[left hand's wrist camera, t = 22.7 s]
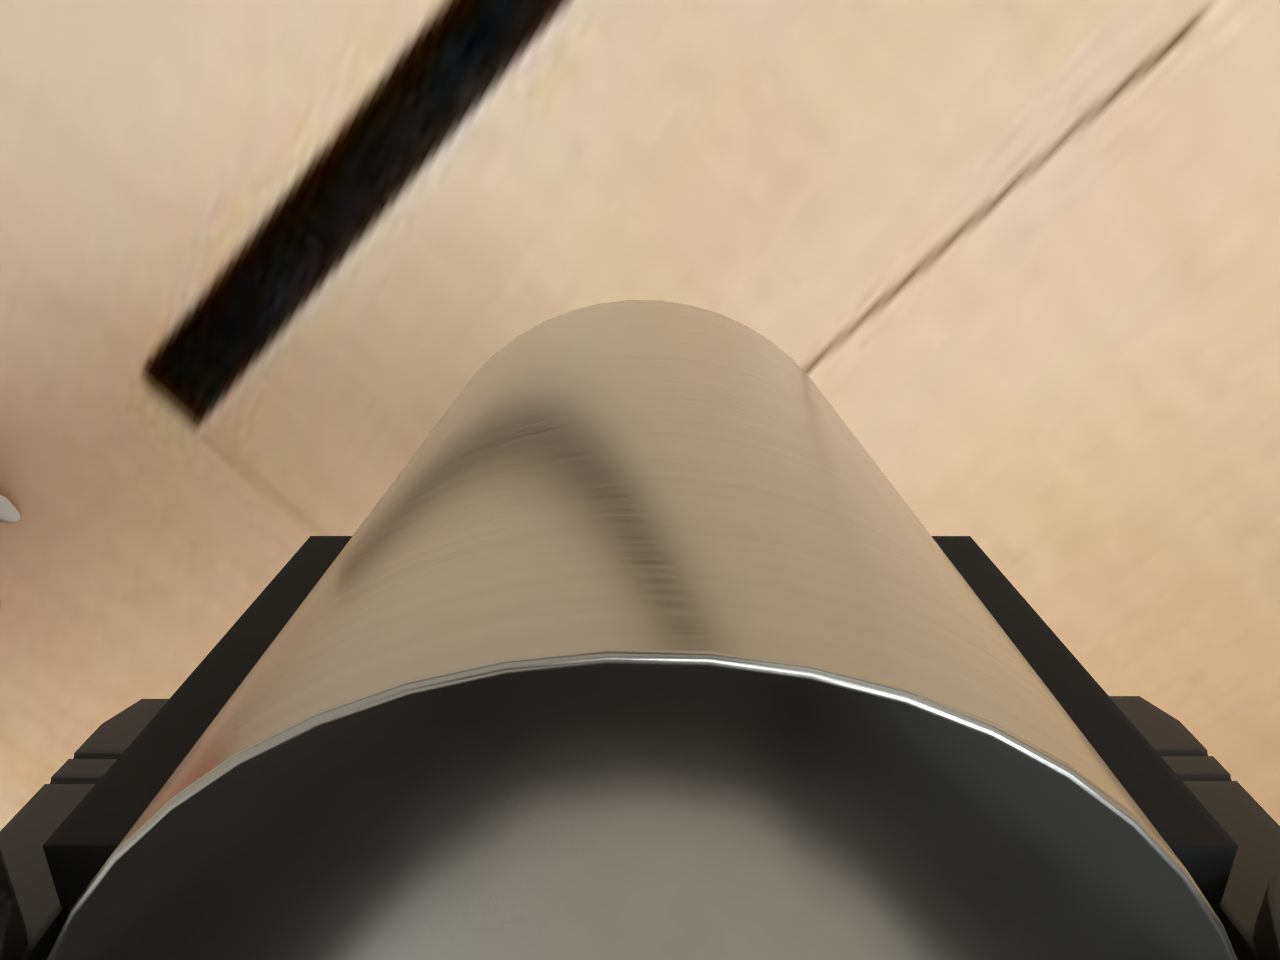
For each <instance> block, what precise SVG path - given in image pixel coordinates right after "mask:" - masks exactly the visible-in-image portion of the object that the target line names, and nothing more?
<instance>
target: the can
mask: <svg viewBox="0 0 1280 960" xmlns="http://www.w3.org/2000/svg"><path fill="white" fill-rule="evenodd" d="M47 960H1238V959H1237V957H1236V955H1235V952H1234V950H1233V947H1232V945H1231V943H1230V940H1229V938H1228V935H1227V933H1226V931H1225V928H1224V926H1223V924H1222V922H1221V921H1220V919H1219V918H1218V916H1217V915H1216V913H1215V912H1214V910H1213V909H1212V907H1211V906H1210V904H1209V903H1208V901H1207V900H1206V898H1205V897H1204V895H1203V894H1202V892H1201V891H1200V889H1199V888H1198V886H1197V885H1196V883H1195V882H1194V880H1193V879H1192V877H1191V876H1190V874H1189V873H1188V871H1187V869H1186V868H1185V867H1184V865H1183V864H1182V863H1181V861H1180V860H1179V859H1178V858H1177V856H1176V855H1175V854H1174V852H1173V851H1172V850H1171V848H1170V847H1169V846H1168V844H1167V843H1166V842H1165V841H1164V839H1163V838H1162V837H1161V835H1160V834H1159V833H1158V831H1157V830H1156V829H1155V828H1154V826H1153V825H1152V824H1151V822H1150V821H1149V820H1148V818H1147V817H1146V816H1145V814H1144V813H1143V812H1142V811H1141V809H1140V808H1139V807H1138V805H1137V804H1136V803H1135V801H1134V800H1133V799H1132V798H1131V796H1130V795H1129V794H1128V792H1127V791H1126V790H1125V788H1124V787H1123V786H1122V784H1121V783H1120V782H1119V781H1118V779H1117V778H1116V777H1115V775H1114V774H1113V773H1112V771H1111V770H1110V769H1109V767H1108V766H1107V765H1106V764H1105V762H1104V761H1103V760H1102V758H1101V757H1100V756H1099V754H1098V753H1097V752H1096V751H1095V749H1094V748H1093V747H1092V745H1091V744H1090V743H1089V741H1088V740H1087V739H1086V737H1085V736H1084V735H1083V734H1082V732H1081V731H1080V730H1079V728H1078V727H1077V726H1076V724H1075V723H1074V722H1073V721H1072V719H1071V718H1070V717H1069V715H1068V714H1067V713H1066V711H1065V710H1064V709H1063V707H1062V706H1061V705H1060V704H1059V702H1058V701H1057V700H1056V698H1055V697H1054V696H1053V694H1052V693H1051V692H1050V690H1049V689H1048V688H1047V687H1046V685H1045V684H1044V683H1043V681H1042V680H1041V679H1040V677H1039V676H1038V675H1037V674H1036V672H1035V671H1034V670H1033V668H1032V667H1031V666H1030V664H1029V663H1028V662H1027V660H1026V659H1025V658H1024V657H1023V655H1022V654H1021V653H1020V651H1019V650H1018V649H1017V647H1016V646H1015V645H1014V644H1013V642H1012V641H1011V640H1010V638H1009V637H1008V636H1007V634H1006V633H1005V632H1004V630H1003V629H1002V628H1001V627H1000V625H999V624H998V623H997V621H996V620H995V619H994V617H993V616H992V615H991V614H990V612H989V611H988V610H987V608H986V607H985V606H984V604H983V603H982V602H981V600H980V599H979V598H978V597H977V595H976V594H975V593H974V591H973V590H972V589H971V587H970V586H969V585H968V583H967V582H966V581H965V580H964V578H963V577H962V576H961V574H960V573H959V572H958V570H957V569H956V568H955V567H954V565H953V564H952V563H951V561H950V560H949V559H948V557H947V556H946V555H945V553H944V552H943V551H942V550H941V548H940V547H939V546H938V544H937V543H936V542H935V540H934V539H933V538H932V537H931V535H930V534H929V533H928V531H927V530H926V529H925V527H924V526H923V525H922V523H921V522H920V521H919V520H918V518H917V517H916V516H915V514H914V513H913V512H912V510H911V509H910V508H909V506H908V505H907V504H906V503H905V501H904V500H903V499H902V497H901V496H900V495H899V493H898V492H897V491H896V490H895V488H894V487H893V486H892V484H891V483H890V482H889V480H888V479H887V478H886V476H885V475H884V474H883V473H882V471H881V470H880V469H879V467H878V466H877V465H876V463H875V462H874V461H873V460H872V458H871V457H870V456H869V454H868V453H867V452H866V450H865V449H864V448H863V446H862V445H861V444H860V443H859V441H858V440H857V439H856V437H855V436H854V435H853V433H852V432H851V431H850V430H849V428H848V427H847V426H846V424H845V423H844V422H843V420H842V419H841V418H840V416H839V415H838V414H837V413H836V411H835V410H834V409H833V407H832V406H831V405H830V403H829V402H828V401H827V399H826V398H825V397H824V396H823V394H822V393H821V392H820V390H819V389H818V388H817V386H816V385H815V384H814V383H813V381H812V380H811V379H810V378H809V377H808V376H807V374H806V373H805V372H804V371H803V370H802V369H801V368H800V367H799V366H798V365H797V364H796V362H795V361H794V360H793V359H792V358H790V357H789V356H788V355H787V354H786V353H784V352H783V351H782V350H781V349H780V348H778V347H777V346H776V345H775V344H774V343H772V342H771V341H770V340H768V339H767V338H765V337H763V336H762V335H760V334H758V333H757V332H755V331H754V330H752V329H750V328H749V327H747V326H745V325H743V324H741V323H739V322H736V321H734V320H732V319H730V318H727V317H725V316H723V315H721V314H718V313H715V312H711V311H708V310H704V309H701V308H698V307H694V306H691V305H685V304H678V303H672V302H665V301H645V300H628V301H619V302H610V303H601V304H597V305H593V306H589V307H585V308H581V309H577V310H573V311H570V312H567V313H565V314H562V315H560V316H557V317H555V318H552V319H550V320H547V321H545V322H543V323H541V324H539V325H538V326H536V327H534V328H532V329H530V330H529V331H527V332H525V333H523V334H522V335H520V336H518V337H517V338H516V339H514V340H513V341H512V342H510V343H509V344H508V345H506V346H505V347H504V348H502V349H501V350H500V351H498V352H497V353H496V354H495V355H494V356H493V357H492V358H491V359H490V360H489V361H488V362H487V363H486V364H485V365H484V366H483V367H482V368H481V369H480V370H479V371H478V372H477V373H476V374H475V375H474V377H473V378H472V379H471V381H470V382H469V383H468V385H467V386H466V387H465V389H464V390H463V391H462V393H461V394H460V395H459V397H458V398H457V399H456V400H455V402H454V403H453V404H452V406H451V407H450V408H449V410H448V411H447V412H446V414H445V415H444V416H443V418H442V419H441V420H440V422H439V423H438V424H437V426H436V427H435V428H434V430H433V431H432V432H431V433H430V435H429V436H428V437H427V439H426V440H425V441H424V443H423V444H422V445H421V447H420V448H419V449H418V451H417V452H416V453H415V455H414V456H413V457H412V459H411V460H410V461H409V463H408V464H407V465H406V466H405V468H404V469H403V470H402V472H401V473H400V474H399V476H398V477H397V478H396V480H395V481H394V482H393V484H392V485H391V486H390V488H389V489H388V490H387V492H386V493H385V494H384V496H383V497H382V498H381V499H380V501H379V502H378V503H377V505H376V506H375V507H374V509H373V510H372V511H371V513H370V514H369V515H368V517H367V518H366V519H365V521H364V522H363V523H362V525H361V526H360V527H359V529H358V530H357V531H356V533H355V534H354V535H353V536H352V538H351V539H350V540H349V542H348V543H347V544H346V546H345V547H344V548H343V550H342V551H341V552H340V554H339V555H338V556H337V558H336V559H335V560H334V562H333V563H332V564H331V566H330V567H329V568H328V569H327V571H326V572H325V573H324V575H323V576H322V577H321V579H320V580H319V581H318V583H317V584H316V585H315V587H314V588H313V589H312V591H311V592H310V593H309V595H308V596H307V597H306V599H305V600H304V601H303V602H302V604H301V605H300V606H299V608H298V609H297V610H296V612H295V613H294V614H293V616H292V617H291V618H290V620H289V621H288V622H287V624H286V625H285V626H284V628H283V629H282V630H281V632H280V633H279V634H278V635H277V637H276V638H275V639H274V641H273V642H272V643H271V645H270V646H269V647H268V649H267V650H266V651H265V653H264V654H263V655H262V657H261V658H260V659H259V661H258V662H257V663H256V665H255V666H254V667H253V668H252V670H251V671H250V672H249V674H248V675H247V676H246V678H245V679H244V680H243V682H242V683H241V684H240V686H239V687H238V688H237V690H236V691H235V692H234V694H233V695H232V696H231V698H230V699H229V700H228V702H227V703H226V704H225V705H224V707H223V708H222V709H221V711H220V712H219V713H218V715H217V716H216V717H215V719H214V720H213V721H212V723H211V724H210V725H209V727H208V728H207V729H206V731H205V732H204V733H203V735H202V736H201V737H200V738H199V740H198V741H197V742H196V744H195V745H194V746H193V748H192V749H191V750H190V752H189V753H188V754H187V756H186V757H185V758H184V760H183V761H182V762H181V764H180V765H179V766H178V768H177V769H176V770H175V771H174V773H173V774H172V775H171V777H170V778H169V779H168V781H167V782H166V783H165V785H164V786H163V787H162V789H161V790H160V791H159V793H158V794H157V795H156V797H155V798H154V799H153V801H152V802H151V803H150V804H149V806H148V807H147V808H146V810H145V811H144V812H143V814H142V815H141V816H140V818H139V819H138V820H137V822H136V823H135V824H134V826H133V827H132V828H131V830H130V831H129V832H128V834H127V835H126V836H125V837H124V839H123V840H122V841H121V843H120V844H119V845H118V847H117V848H116V849H115V851H114V852H113V853H112V855H111V856H110V857H109V859H108V860H107V861H106V863H105V864H104V865H103V867H102V868H101V869H100V871H99V872H98V873H97V875H96V876H95V878H94V879H93V880H92V882H91V883H90V884H89V886H88V887H87V888H86V890H85V891H84V892H83V894H82V895H81V896H80V898H79V899H78V900H77V902H76V903H75V904H74V906H73V907H72V909H71V911H70V913H69V915H68V917H67V919H66V921H65V923H64V925H63V927H62V929H61V931H60V934H59V936H58V938H57V940H56V942H55V944H54V946H53V948H52V950H51V952H50V954H49V956H48V958H47Z"/></svg>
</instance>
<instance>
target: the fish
mask: <svg viewBox="0 0 1280 960" xmlns="http://www.w3.org/2000/svg"><path fill="white" fill-rule="evenodd" d="M20 518H21V515H20V513H19V512H18V510H17V509H16V508H15V507H14V506H13V504H12V503H11V502H10V501H9V500H8V498H7V497H5V496H2V495H0V522H8V523H15V522H17V521H19V520H20Z"/></svg>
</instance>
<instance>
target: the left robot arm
mask: <svg viewBox="0 0 1280 960" xmlns="http://www.w3.org/2000/svg"><path fill="white" fill-rule="evenodd" d="M931 537H932V538H933V539H934V540H935V542H936V543H937V544H938V546H939V547H940V548H941V550H942V551H943V552H944V553H945V555H946V556H947V557H948V559H949V560H950V561H951V563H952V564H953V565H954V567H955V568H956V569H957V570H958V572H959V573H960V574H961V576H962V577H963V578H964V580H965V581H966V582H967V583H968V585H969V586H970V587H971V589H972V590H973V591H974V593H975V594H976V595H977V597H978V598H979V599H980V600H981V602H982V603H983V604H984V606H985V607H986V608H987V610H988V611H989V612H990V614H991V615H992V616H993V617H994V619H995V620H996V621H997V623H998V624H999V625H1000V627H1001V628H1002V629H1003V630H1004V632H1005V633H1006V634H1007V636H1008V637H1009V638H1010V640H1011V641H1012V642H1013V644H1014V645H1015V646H1016V647H1017V649H1018V650H1019V651H1020V653H1021V654H1022V655H1023V657H1024V658H1025V659H1026V660H1027V662H1028V663H1029V664H1030V666H1031V667H1032V668H1033V670H1034V671H1035V672H1036V674H1037V675H1038V676H1039V677H1040V679H1041V680H1042V681H1043V683H1044V684H1045V685H1046V687H1047V688H1048V689H1049V690H1050V692H1051V693H1052V694H1053V696H1054V697H1055V698H1056V700H1057V701H1058V702H1059V704H1060V705H1061V706H1062V707H1063V709H1064V710H1065V711H1066V713H1067V714H1068V715H1069V717H1070V718H1071V719H1072V721H1073V722H1074V723H1075V724H1076V726H1077V727H1078V728H1079V730H1080V731H1081V732H1082V734H1083V735H1084V736H1085V737H1086V739H1087V740H1088V741H1089V743H1090V744H1091V745H1092V747H1093V748H1094V749H1095V751H1096V752H1097V753H1098V754H1099V756H1100V757H1101V758H1102V760H1103V761H1104V762H1105V764H1106V765H1107V766H1108V767H1109V769H1110V770H1111V771H1112V773H1113V774H1114V775H1115V777H1116V778H1117V779H1118V781H1119V782H1120V783H1121V784H1122V786H1123V787H1124V788H1125V790H1126V791H1127V792H1128V794H1129V795H1130V796H1131V798H1132V799H1133V800H1134V801H1135V803H1136V804H1137V805H1138V807H1139V808H1140V809H1141V811H1142V812H1143V813H1144V814H1145V816H1146V817H1147V818H1148V820H1149V821H1150V822H1151V824H1152V825H1153V826H1154V828H1155V829H1156V830H1157V831H1158V833H1159V834H1160V835H1161V837H1162V838H1163V839H1164V841H1165V842H1166V843H1167V844H1168V846H1169V847H1170V848H1171V850H1172V851H1173V852H1174V854H1175V855H1176V856H1177V858H1178V859H1179V860H1180V861H1181V863H1182V864H1183V865H1184V867H1185V868H1186V869H1187V871H1188V873H1189V874H1190V876H1191V877H1192V879H1193V880H1194V882H1195V883H1196V885H1197V886H1198V888H1199V889H1200V891H1201V892H1202V894H1203V895H1204V897H1205V898H1206V900H1207V901H1208V903H1209V904H1210V906H1211V907H1212V909H1213V910H1214V912H1215V913H1216V915H1217V916H1218V918H1219V919H1220V921H1221V922H1222V924H1223V926H1224V928H1225V931H1226V933H1227V935H1228V938H1229V940H1230V943H1231V945H1232V947H1233V950H1234V952H1235V955H1236V957H1237V959H1238V960H1280V826H1279V825H1278V824H1277V823H1276V822H1275V821H1274V820H1273V819H1272V818H1271V817H1270V816H1269V815H1268V814H1267V813H1266V812H1265V810H1264V809H1263V808H1262V807H1261V806H1260V805H1259V804H1258V803H1257V802H1256V801H1255V800H1254V799H1253V798H1252V797H1251V796H1250V795H1249V794H1248V793H1247V792H1246V791H1245V790H1244V788H1243V787H1242V786H1241V785H1240V784H1239V783H1238V782H1237V781H1232V780H1231V778H1230V774H1229V773H1228V772H1227V771H1226V770H1225V769H1224V768H1223V766H1222V765H1221V764H1220V763H1219V762H1218V761H1217V760H1216V759H1215V758H1214V757H1213V756H1208V754H1207V750H1206V749H1205V748H1204V747H1203V745H1202V744H1201V743H1200V742H1199V741H1198V740H1197V739H1196V738H1195V737H1194V736H1193V735H1192V734H1191V733H1190V732H1189V731H1188V730H1187V729H1186V728H1185V727H1184V726H1183V725H1182V723H1181V722H1180V721H1178V720H1177V719H1175V718H1173V717H1172V716H1170V715H1168V714H1167V713H1165V712H1164V711H1162V710H1160V709H1159V708H1157V707H1156V706H1154V705H1152V704H1151V703H1149V702H1148V701H1146V700H1144V699H1143V698H1141V697H1139V696H1108V695H1107V694H1106V693H1105V691H1104V690H1103V689H1102V688H1101V687H1100V686H1099V685H1098V683H1097V682H1096V681H1095V680H1094V679H1093V678H1092V676H1091V675H1090V674H1089V673H1088V672H1087V671H1086V670H1085V668H1084V667H1083V666H1082V665H1081V664H1080V663H1079V661H1078V660H1077V659H1076V658H1075V657H1074V656H1073V655H1072V653H1071V652H1070V651H1069V650H1068V649H1067V648H1066V646H1065V645H1064V644H1063V643H1062V642H1061V641H1060V640H1059V638H1058V637H1057V636H1056V635H1055V634H1054V633H1053V631H1052V630H1051V629H1050V628H1049V627H1048V626H1047V625H1046V623H1045V622H1044V621H1043V620H1042V619H1041V618H1040V617H1039V615H1038V614H1037V613H1036V612H1035V611H1034V610H1033V608H1032V607H1031V606H1030V605H1029V604H1028V603H1027V602H1026V600H1025V599H1024V598H1023V597H1022V596H1021V595H1020V593H1019V592H1018V591H1017V590H1016V589H1015V588H1014V587H1013V585H1012V584H1011V583H1010V582H1009V581H1008V580H1007V578H1006V577H1005V576H1004V575H1003V574H1002V573H1001V572H1000V570H999V569H998V568H997V567H996V566H995V565H994V563H993V562H992V561H991V560H990V559H989V558H988V557H987V555H986V554H985V553H984V552H983V551H982V550H981V548H980V547H979V546H978V545H977V544H976V543H975V542H974V540H973V539H972V538H971V537H970V536H931ZM351 538H352V536H310V538H309V539H308V540H307V541H306V542H305V543H304V545H303V546H302V547H301V548H300V549H299V550H298V551H297V553H296V554H295V555H294V556H293V557H292V558H291V560H290V561H289V562H288V563H287V564H286V565H285V566H284V568H283V569H282V570H281V571H280V572H279V573H278V575H277V576H276V577H275V578H274V579H273V580H272V581H271V583H270V584H269V585H268V586H267V587H266V588H265V590H264V591H263V592H262V593H261V594H260V595H259V596H258V598H257V599H256V600H255V601H254V602H253V603H252V605H251V606H250V607H249V608H248V609H247V610H246V611H245V613H244V614H243V615H242V616H241V617H240V618H239V619H238V621H237V622H236V623H235V624H234V625H233V626H232V628H231V629H230V630H229V631H228V632H227V633H226V634H225V636H224V637H223V638H222V639H221V640H220V641H219V643H218V644H217V645H216V646H215V647H214V648H213V649H212V651H211V652H210V653H209V654H208V655H207V656H206V658H205V659H204V660H203V661H202V662H201V663H200V664H199V666H198V667H197V668H196V669H195V670H194V671H193V673H192V674H191V675H190V676H189V677H188V678H187V679H186V681H185V682H184V683H183V684H182V685H181V686H180V688H179V689H178V690H177V691H176V692H175V693H174V694H173V696H172V697H171V698H170V699H141V700H140V701H138V702H137V703H135V704H133V705H132V706H130V707H129V708H127V709H125V710H124V711H122V712H121V713H119V714H117V715H116V716H114V717H113V718H111V719H109V720H108V721H106V722H105V723H103V724H102V725H101V726H100V727H99V728H98V729H97V730H96V731H95V732H94V733H93V734H92V735H91V736H90V737H89V738H88V739H87V740H86V741H85V743H84V744H83V745H82V746H81V747H80V748H79V749H78V750H77V751H76V752H75V753H74V758H73V759H68V760H67V762H66V763H65V764H64V765H63V766H62V767H61V768H60V769H59V770H58V771H57V772H56V773H55V774H54V775H53V776H52V777H51V783H50V784H45V785H44V786H43V787H42V788H41V789H40V790H39V791H38V792H37V793H36V794H35V795H34V796H33V797H32V798H31V800H30V801H29V802H28V803H27V804H26V805H25V806H24V807H23V808H22V809H21V810H20V811H19V812H18V813H17V814H16V815H15V816H14V817H13V819H12V820H11V821H10V822H9V823H8V824H7V825H6V826H5V827H4V828H3V829H2V830H1V831H0V960H47V958H48V956H49V954H50V952H51V950H52V948H53V946H54V944H55V942H56V940H57V938H58V936H59V934H60V931H61V929H62V927H63V925H64V923H65V921H66V919H67V917H68V915H69V913H70V911H71V909H72V907H73V906H74V904H75V903H76V902H77V900H78V899H79V898H80V896H81V895H82V894H83V892H84V891H85V890H86V888H87V887H88V886H89V884H90V883H91V882H92V880H93V879H94V878H95V876H96V875H97V873H98V872H99V871H100V869H101V868H102V867H103V865H104V864H105V863H106V861H107V860H108V859H109V857H110V856H111V855H112V853H113V852H114V851H115V849H116V848H117V847H118V845H119V844H120V843H121V841H122V840H123V839H124V837H125V836H126V835H127V834H128V832H129V831H130V830H131V828H132V827H133V826H134V824H135V823H136V822H137V820H138V819H139V818H140V816H141V815H142V814H143V812H144V811H145V810H146V808H147V807H148V806H149V804H150V803H151V802H152V801H153V799H154V798H155V797H156V795H157V794H158V793H159V791H160V790H161V789H162V787H163V786H164V785H165V783H166V782H167V781H168V779H169V778H170V777H171V775H172V774H173V773H174V771H175V770H176V769H177V768H178V766H179V765H180V764H181V762H182V761H183V760H184V758H185V757H186V756H187V754H188V753H189V752H190V750H191V749H192V748H193V746H194V745H195V744H196V742H197V741H198V740H199V738H200V737H201V736H202V735H203V733H204V732H205V731H206V729H207V728H208V727H209V725H210V724H211V723H212V721H213V720H214V719H215V717H216V716H217V715H218V713H219V712H220V711H221V709H222V708H223V707H224V705H225V704H226V703H227V702H228V700H229V699H230V698H231V696H232V695H233V694H234V692H235V691H236V690H237V688H238V687H239V686H240V684H241V683H242V682H243V680H244V679H245V678H246V676H247V675H248V674H249V672H250V671H251V670H252V668H253V667H254V666H255V665H256V663H257V662H258V661H259V659H260V658H261V657H262V655H263V654H264V653H265V651H266V650H267V649H268V647H269V646H270V645H271V643H272V642H273V641H274V639H275V638H276V637H277V635H278V634H279V633H280V632H281V630H282V629H283V628H284V626H285V625H286V624H287V622H288V621H289V620H290V618H291V617H292V616H293V614H294V613H295V612H296V610H297V609H298V608H299V606H300V605H301V604H302V602H303V601H304V600H305V599H306V597H307V596H308V595H309V593H310V592H311V591H312V589H313V588H314V587H315V585H316V584H317V583H318V581H319V580H320V579H321V577H322V576H323V575H324V573H325V572H326V571H327V569H328V568H329V567H330V566H331V564H332V563H333V562H334V560H335V559H336V558H337V556H338V555H339V554H340V552H341V551H342V550H343V548H344V547H345V546H346V544H347V543H348V542H349V540H350V539H351Z"/></svg>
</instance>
